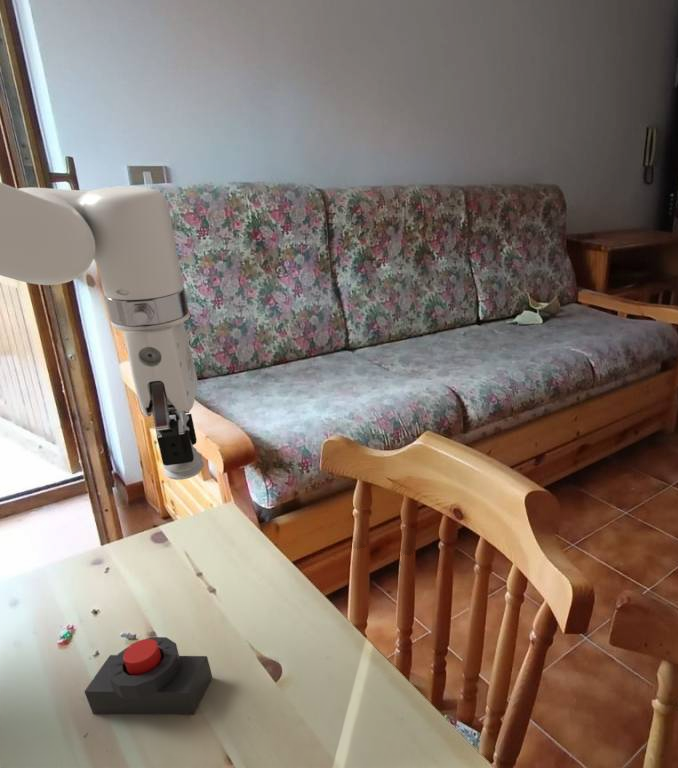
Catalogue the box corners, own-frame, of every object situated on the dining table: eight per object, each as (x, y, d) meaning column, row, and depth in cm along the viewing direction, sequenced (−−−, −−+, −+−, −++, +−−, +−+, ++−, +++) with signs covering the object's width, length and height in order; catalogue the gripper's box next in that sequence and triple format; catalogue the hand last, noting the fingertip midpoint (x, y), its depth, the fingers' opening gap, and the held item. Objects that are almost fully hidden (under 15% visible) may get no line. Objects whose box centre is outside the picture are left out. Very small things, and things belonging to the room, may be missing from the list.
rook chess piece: (169, 485, 74) (156, 425, 70) (159, 469, 77) (146, 410, 73) (209, 472, 76) (198, 414, 73) (198, 457, 79) (187, 400, 76)
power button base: (87, 721, 62) (73, 685, 59) (121, 670, 67) (109, 636, 65) (190, 722, 62) (180, 686, 60) (215, 671, 67) (207, 637, 65)
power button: (120, 676, 61) (116, 663, 60) (137, 651, 64) (133, 638, 63) (151, 676, 61) (147, 663, 60) (167, 651, 64) (163, 638, 63)
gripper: (179, 329, 62) (211, 485, 70) (193, 284, 76) (218, 418, 84) (91, 336, 59) (134, 497, 67) (122, 288, 74) (155, 426, 81)
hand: (180, 452), depth 75 cm, fingers closed on rook chess piece, 3 cm apart
